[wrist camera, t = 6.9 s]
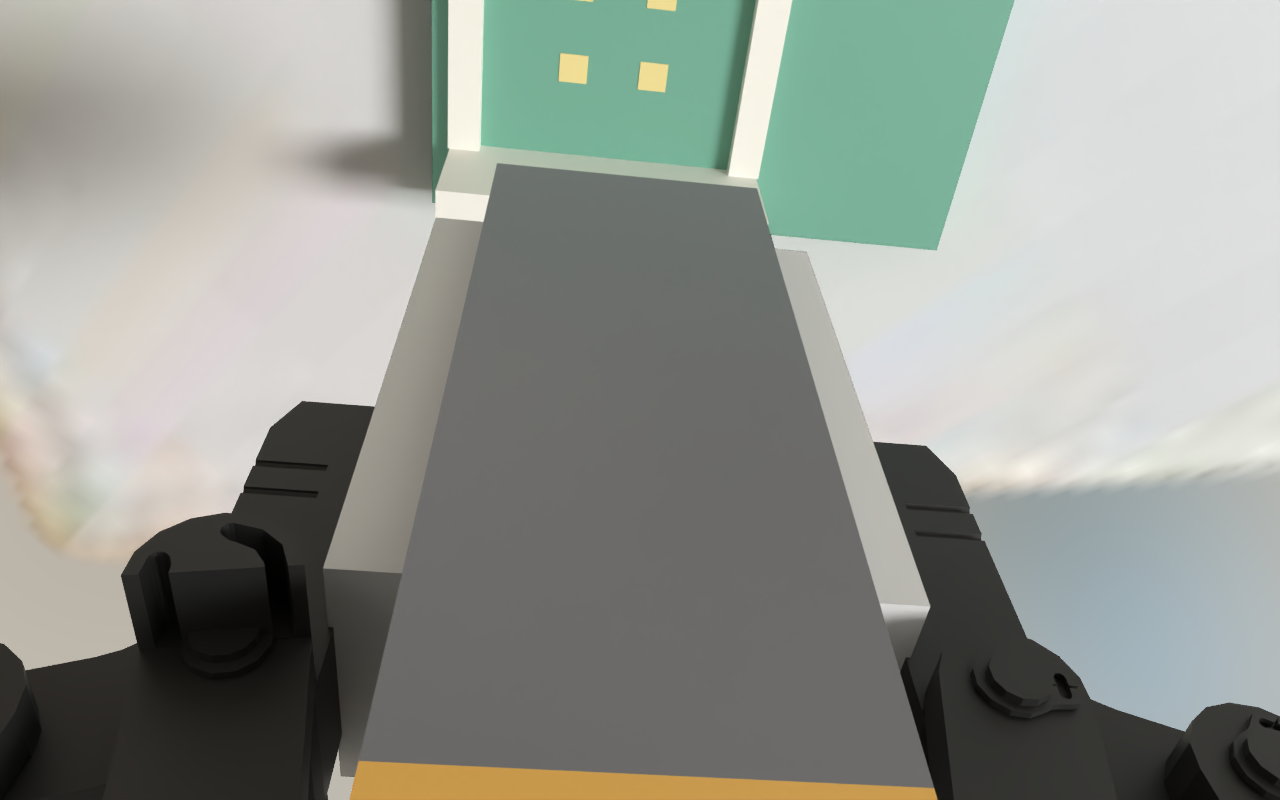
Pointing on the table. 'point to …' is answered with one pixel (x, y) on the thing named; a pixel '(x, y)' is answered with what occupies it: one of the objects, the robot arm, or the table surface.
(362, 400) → the table surface
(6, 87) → the table surface
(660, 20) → the board
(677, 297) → the plug
